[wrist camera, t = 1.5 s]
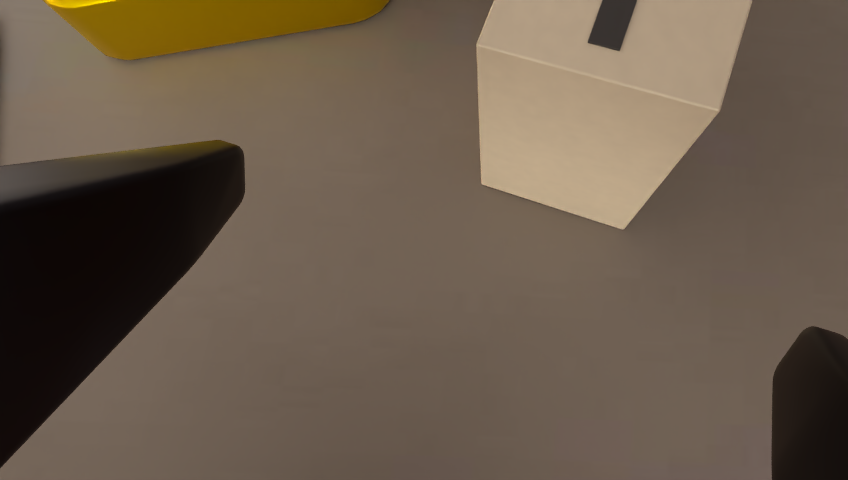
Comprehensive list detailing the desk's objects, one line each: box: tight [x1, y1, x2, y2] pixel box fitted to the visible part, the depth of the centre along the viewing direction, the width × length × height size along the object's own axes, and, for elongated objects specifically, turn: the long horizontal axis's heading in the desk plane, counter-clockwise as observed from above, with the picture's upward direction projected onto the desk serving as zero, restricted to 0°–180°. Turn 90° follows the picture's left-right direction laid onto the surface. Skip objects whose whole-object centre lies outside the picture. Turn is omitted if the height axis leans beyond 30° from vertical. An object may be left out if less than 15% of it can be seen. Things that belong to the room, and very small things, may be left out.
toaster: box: [476, 0, 753, 230], centre depth 19 cm, size 6×6×10 cm
